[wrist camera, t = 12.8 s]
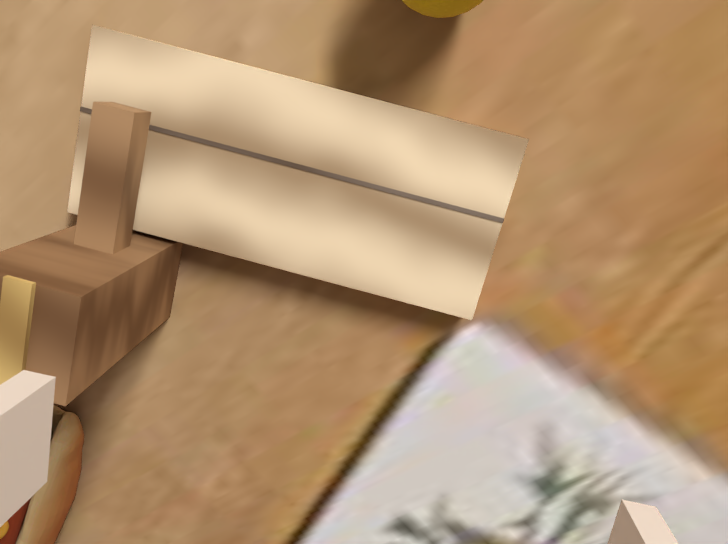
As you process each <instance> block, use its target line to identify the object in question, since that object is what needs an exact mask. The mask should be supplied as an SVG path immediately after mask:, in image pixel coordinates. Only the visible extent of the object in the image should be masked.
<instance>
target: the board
mask: <svg viewBox="0 0 728 544" xmlns="http://www.w3.org/2000/svg"><path fill="white" fill-rule="evenodd" d="M93 102H116V103H119V104H123V105H127V106H131V107H134V108H138V109H142V110H146V111H150V112H151V119H150V125H149V131H148V137H147V143H146V150H145V156H144V162H143V168H142V175H141V181H140V187H139V193H138V199H137V206H136V212H135V218H134V224H133V230H136V231H140V232H143V233H147V234H151V235H155V236H158V237H162V238H166V239H169V240H173V241H177V242H181V243H184V244H188V245H192V246H196V247H199V248H203V249H207V250H211V251H214V252H218V253H222V254H226V255H229V256H233V257H237V258H241V259H244V260H248V261H252V262H256V263H259V264H263V265H267V266H270V267H274V268H278V269H282V270H285V271H289V272H293V273H297V274H300V275H304V276H308V277H312V278H315V279H319V280H323V281H327V282H330V283H334V284H338V285H342V286H345V287H349V288H353V289H356V290H360V291H364V292H368V293H371V294H375V295H379V296H383V297H386V298H390V299H394V300H398V301H401V302H405V303H409V304H413V305H416V306H420V307H424V308H428V309H431V310H435V311H439V312H443V313H446V314H450V315H454V316H457V317H461V318H465V319H469V320H472V318H473V315H474V312H475V309H476V305H477V302H478V299H479V296H480V293H481V290H482V286H483V283H484V280H485V277H486V274H487V271H488V267H489V264H490V261H491V258H492V255H493V252H494V248H495V245H496V242H497V239H498V236H499V233H500V229H501V226H502V223H503V221H504V217H505V214H506V210H507V207H508V204H509V201H510V198H511V195H512V191H513V188H514V185H515V182H516V179H517V176H518V172H519V169H520V166H521V163H522V160H523V157H524V153H525V150H526V147H527V144H528V141H529V139H526V138H522V137H519V136H515V135H511V134H507V133H503V132H500V131H496V130H492V129H488V128H484V127H481V126H477V125H473V124H469V123H465V122H462V121H458V120H454V119H450V118H446V117H443V116H439V115H435V114H431V113H427V112H424V111H420V110H416V109H412V108H408V107H405V106H401V105H397V104H393V103H389V102H386V101H382V100H378V99H374V98H370V97H367V96H363V95H359V94H355V93H351V92H348V91H344V90H340V89H336V88H332V87H329V86H325V85H321V84H317V83H313V82H310V81H306V80H302V79H298V78H294V77H291V76H287V75H283V74H279V73H275V72H272V71H268V70H264V69H260V68H256V67H253V66H249V65H245V64H241V63H237V62H234V61H230V60H226V59H222V58H218V57H214V56H211V55H207V54H203V53H199V52H195V51H192V50H188V49H184V48H180V47H176V46H173V45H169V44H165V43H161V42H157V41H154V40H150V39H146V38H142V37H138V36H135V35H131V34H127V33H123V32H119V31H116V30H112V29H108V28H104V27H100V26H96V25H92V29H91V37H90V45H89V52H88V60H87V67H86V75H85V82H84V90H83V97H82V105H81V108H80V111H81V112H80V120H79V128H78V135H77V143H76V150H75V158H74V165H73V173H72V180H71V188H70V195H69V203H68V211H67V212H68V213H72V214H76V215H78V209H79V201H80V194H81V187H82V179H83V172H84V165H85V157H86V150H87V143H88V136H89V128H90V121H91V114H92V106H93Z"/></svg>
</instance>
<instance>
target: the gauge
mask: <svg viewBox="0 0 728 544" xmlns="http://www.w3.org/2000/svg"><path fill="white" fill-rule="evenodd" d="M150 119H151V112H150V111H146V110H142V109H138V108H134V107H131V106H127V105H123V104H119V103H116V102H93V106H92V114H91V121H90V128H89V136H88V143H87V150H86V157H85V165H84V172H83V179H82V187H81V194H80V201H79V209H78V216H77V223H76V225H75V226H72V227H69V228H66V229H63V230H60V231H58V232H55V233H52V234H49V235H46V236H43V237H41V238H38V239H35V240H32V241H29V242H26V243H24V244H21V245H18V246H15V247H12V248H9V249H7V250H4V251H1V252H0V385H1V384H2V383H4V382H6V381H7V380H9V379H10V378H12V377H13V376H15V375H17V374H18V373H20V372H21V371H23V370H26V371H31V372H35V373H40V374H45V375H49V376H54V377H56V379H55V392H54V403H55V404H59V405H62V406H67V405H68V404H69V403H70V402H71V401H72V400H74V399H75V398H76V397H77V396H78V395H79V394H81V393H82V392H83V391H84V390H85V389H86V388H88V387H89V386H90V385H91V384H92V383H93V382H95V381H96V380H97V379H98V378H99V377H100V376H102V375H103V374H104V373H105V372H106V371H107V370H109V369H110V368H111V367H112V366H113V365H114V364H116V363H117V362H118V361H119V360H120V359H121V358H123V357H124V356H125V355H126V354H127V353H128V352H130V351H131V350H132V349H133V348H134V347H135V346H136V345H138V344H139V343H140V342H141V341H142V340H143V339H145V338H146V337H147V336H148V335H149V334H150V333H152V332H153V331H154V330H155V329H156V328H157V327H159V326H160V325H161V324H162V323H163V322H164V321H166V320H167V319H168V318H169V317H170V313H171V307H172V302H173V297H174V291H175V286H176V280H177V275H178V269H179V264H180V258H181V253H182V247H183V243H181V242H177V241H173V240H169V239H166V238H162V237H158V236H155V235H151V234H147V233H143V232H140V231H136V230H133V224H134V218H135V212H136V206H137V199H138V193H139V187H140V181H141V175H142V168H143V162H144V156H145V150H146V143H147V137H148V131H149V125H150Z"/></svg>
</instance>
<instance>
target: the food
mask: <svg viewBox="0 0 728 544" xmlns="http://www.w3.org/2000/svg"><path fill="white" fill-rule="evenodd" d="M83 443H84V432H83V429H82V425H81V423H80V420H79V418H78V416H77V415H76V414H74V413H72V412H65V411H63V410H62V409H61V408H59V407H58V406H56V405H54V404H53V416H52V428H51V440H50V453H49V465H48V477H47V482H46V483H45V484H44V485H43V486H42V487H41V488H40V489H39V490H38V491H37V492H36V493H35V494H34V495H33V496H32V497H31V498H30V499H29V500H28V501H27V502H26V503H25V504H24V505H23V506H22V507H21V508H20V509H19V510H18V511H17V512H15V513H14V514H13V515H12V516H11V517H10V518H9V519H8V520H7V521H6V522H5V523H4V524H3V525H2V526H1V527H0V544H54V543H55V541H56V538H57V536H58V534H59V532H60V530H61V528H62V526H63V523H64V521H65V519H66V516H67V514H68V511H69V509H70V507H71V505H72V502H73V500H74V498H75V495H76V490H77V485H78V480H79V476H80V472H81V462H82V446H83Z"/></svg>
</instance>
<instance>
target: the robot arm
mask: <svg viewBox="0 0 728 544" xmlns="http://www.w3.org/2000/svg"><path fill="white" fill-rule="evenodd" d="M55 379H56V377H54V376H49V375H45V374H40V373H35V372H31V371H26V370H23V371H21V372H20V373H18V374H17V375H15V376H13V377H12V378H10V379H9V380H7V381H6V382H4V383H2V384H1V385H0V527H1V526H2V525H3V524H4V523H5V522H6V521H7V520H8V519H9V518H10V517H11V516H12V515H13V514H14V513H15V512H17V511H18V510H19V509H20V508H21V507H22V506H23V505H24V504H25V503H26V502H27V501H28V500H29V499H30V498H31V497H32V496H33V495H34V494H35V493H36V492H37V491H38V490H39V489H40V488H41V487H42V486H43V485H44V484H45V483H46V482H47V477H48V465H49V453H50V440H51V428H52V416H53V404H54V392H55ZM608 544H678V542H677V540H676V539H675V537H674V535H673V534H672V532H671V531H670V529H669V527H668V526H667V524H666V522H665V521H664V519H663V517H662V516H661V514H660V513H659V511H658V509H657V508H656V507H654V506H649V505H645V504H640V503H636V502H631V501H626V500H622V501H621V504H620V507H619V510H618V513H617V516H616V519H615V522H614V525H613V528H612V531H611V535H610V538H609V541H608Z"/></svg>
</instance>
